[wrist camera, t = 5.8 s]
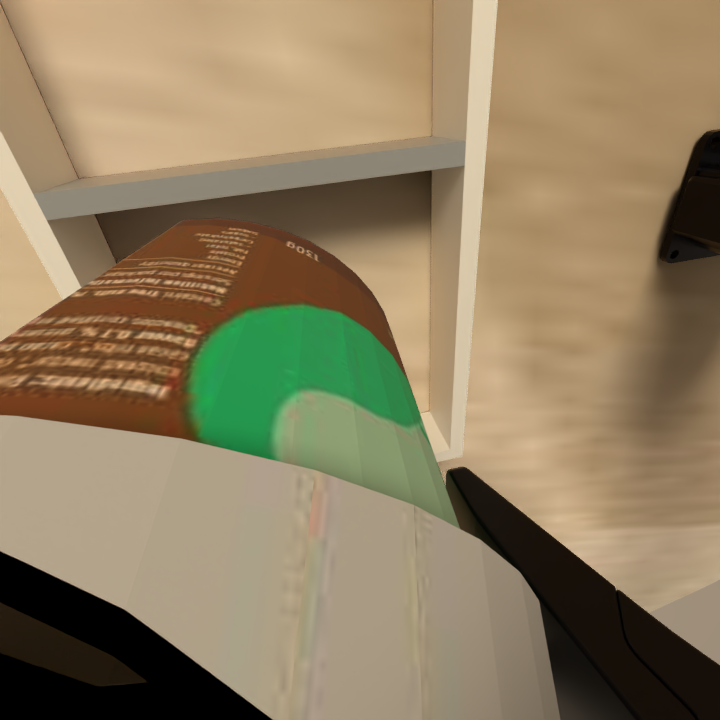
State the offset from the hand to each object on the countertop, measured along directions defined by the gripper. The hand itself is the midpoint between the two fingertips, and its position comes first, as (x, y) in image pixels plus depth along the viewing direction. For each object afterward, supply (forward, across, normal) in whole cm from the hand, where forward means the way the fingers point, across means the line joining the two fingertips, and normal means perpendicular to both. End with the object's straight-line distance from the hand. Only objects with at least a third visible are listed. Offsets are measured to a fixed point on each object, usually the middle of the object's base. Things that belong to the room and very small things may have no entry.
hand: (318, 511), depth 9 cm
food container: (+5, -1, -1) cm, 5 cm away
